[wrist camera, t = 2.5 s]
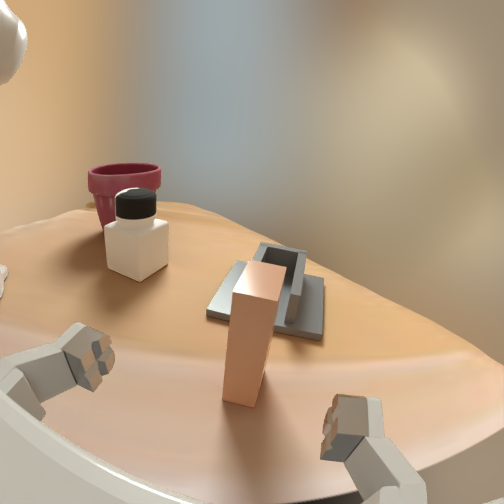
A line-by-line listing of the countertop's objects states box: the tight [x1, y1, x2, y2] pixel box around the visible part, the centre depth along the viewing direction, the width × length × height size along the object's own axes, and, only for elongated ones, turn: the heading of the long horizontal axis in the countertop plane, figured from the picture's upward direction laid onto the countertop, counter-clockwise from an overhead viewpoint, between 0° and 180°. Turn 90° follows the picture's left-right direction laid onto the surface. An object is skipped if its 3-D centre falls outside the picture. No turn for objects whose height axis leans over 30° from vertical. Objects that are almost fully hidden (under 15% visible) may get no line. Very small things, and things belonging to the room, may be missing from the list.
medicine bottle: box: [104, 188, 168, 282], centre depth 41 cm, size 7×7×12 cm
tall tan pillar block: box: [222, 260, 287, 408], centre depth 24 cm, size 3×5×12 cm, turn 168°
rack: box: [206, 242, 324, 341], centre depth 40 cm, size 14×14×5 cm
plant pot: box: [88, 163, 161, 232], centre depth 52 cm, size 14×14×13 cm
